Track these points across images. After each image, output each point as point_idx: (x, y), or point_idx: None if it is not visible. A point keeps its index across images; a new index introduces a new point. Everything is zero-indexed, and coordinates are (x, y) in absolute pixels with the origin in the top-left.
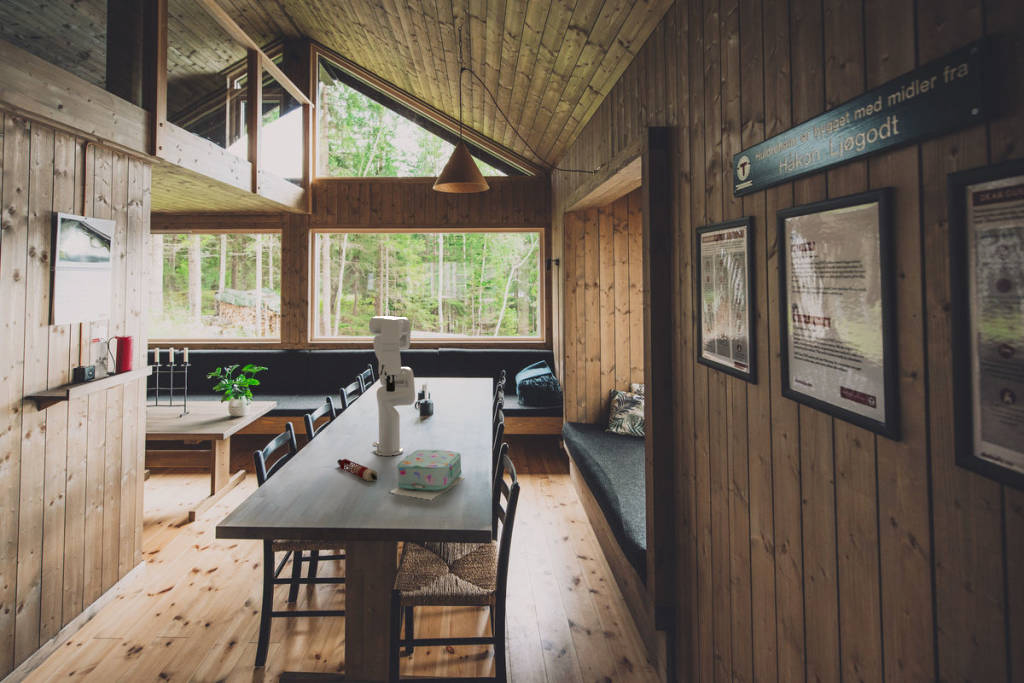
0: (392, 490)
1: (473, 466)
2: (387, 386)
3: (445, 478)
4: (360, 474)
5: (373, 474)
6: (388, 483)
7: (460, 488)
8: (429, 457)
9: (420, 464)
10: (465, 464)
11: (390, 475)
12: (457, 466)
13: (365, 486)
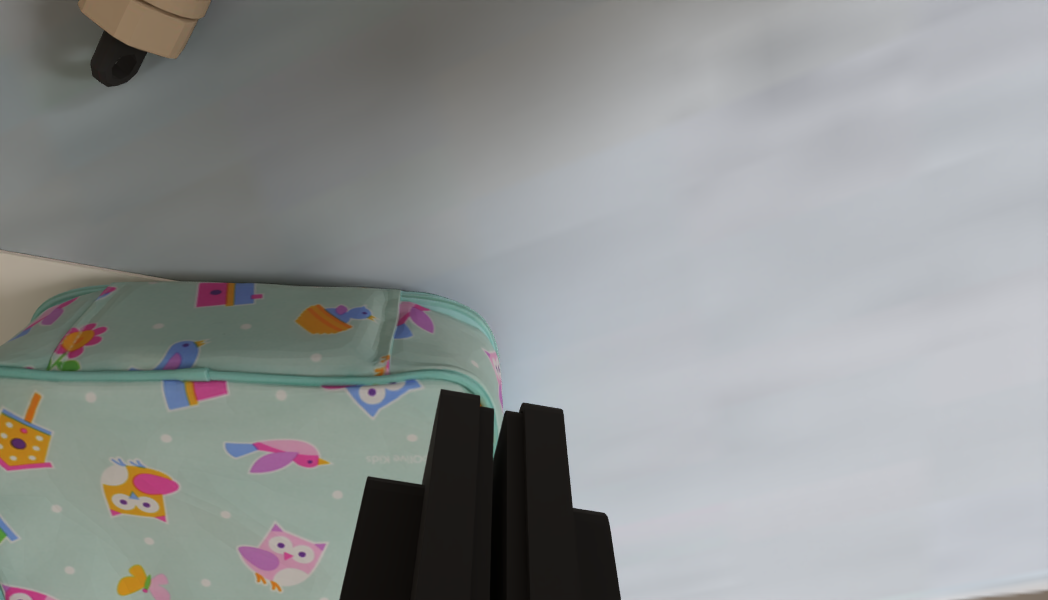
0: (26, 260)
1: (676, 563)
2: (348, 559)
3: None
4: None
5: (98, 58)
6: (161, 165)
7: None
8: (230, 540)
9: (57, 526)
10: (713, 513)
11: (338, 103)
12: None
13: (24, 18)
